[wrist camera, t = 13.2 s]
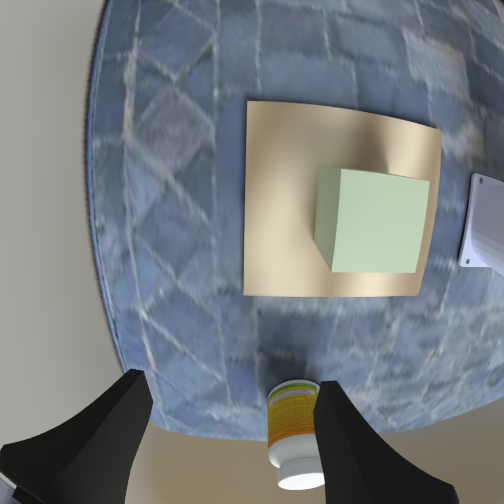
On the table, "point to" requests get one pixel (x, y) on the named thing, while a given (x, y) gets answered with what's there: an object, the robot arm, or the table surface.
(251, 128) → the wooden board
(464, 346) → the table surface
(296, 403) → the supplement bottle
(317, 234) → the sage cube
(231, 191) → the table surface
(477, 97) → the table surface
